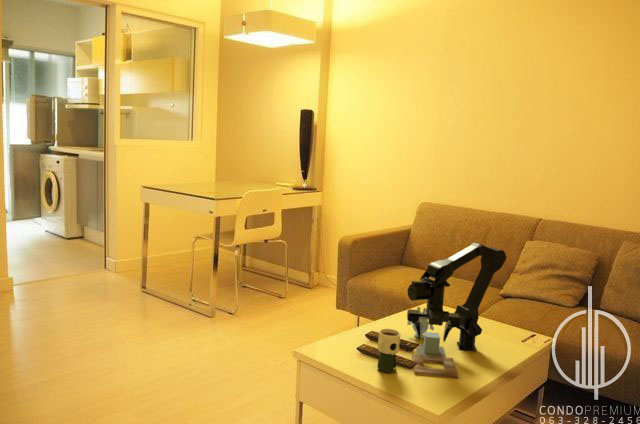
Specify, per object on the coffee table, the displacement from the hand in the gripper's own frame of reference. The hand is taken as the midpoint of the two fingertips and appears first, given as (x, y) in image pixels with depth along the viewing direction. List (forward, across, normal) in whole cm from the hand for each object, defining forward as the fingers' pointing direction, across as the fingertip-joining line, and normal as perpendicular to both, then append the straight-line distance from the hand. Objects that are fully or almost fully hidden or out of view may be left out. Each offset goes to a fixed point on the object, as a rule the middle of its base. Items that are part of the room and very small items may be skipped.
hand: (431, 340), depth 195 cm
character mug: (+5, -16, -19) cm, 25 cm away
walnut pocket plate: (+4, 0, -13) cm, 14 cm away
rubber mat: (+4, 0, 0) cm, 4 cm away
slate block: (+4, 0, 0) cm, 4 cm away
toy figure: (+5, -3, +14) cm, 15 cm away
